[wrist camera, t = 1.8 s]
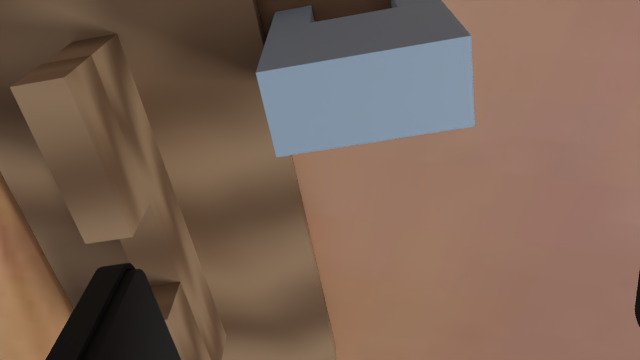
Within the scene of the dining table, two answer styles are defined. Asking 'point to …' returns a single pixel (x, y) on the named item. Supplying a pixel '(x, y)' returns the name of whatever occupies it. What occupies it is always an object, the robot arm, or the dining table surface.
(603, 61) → the dining table surface
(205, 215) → the walnut stand
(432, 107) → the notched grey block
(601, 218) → the dining table surface
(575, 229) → the dining table surface
